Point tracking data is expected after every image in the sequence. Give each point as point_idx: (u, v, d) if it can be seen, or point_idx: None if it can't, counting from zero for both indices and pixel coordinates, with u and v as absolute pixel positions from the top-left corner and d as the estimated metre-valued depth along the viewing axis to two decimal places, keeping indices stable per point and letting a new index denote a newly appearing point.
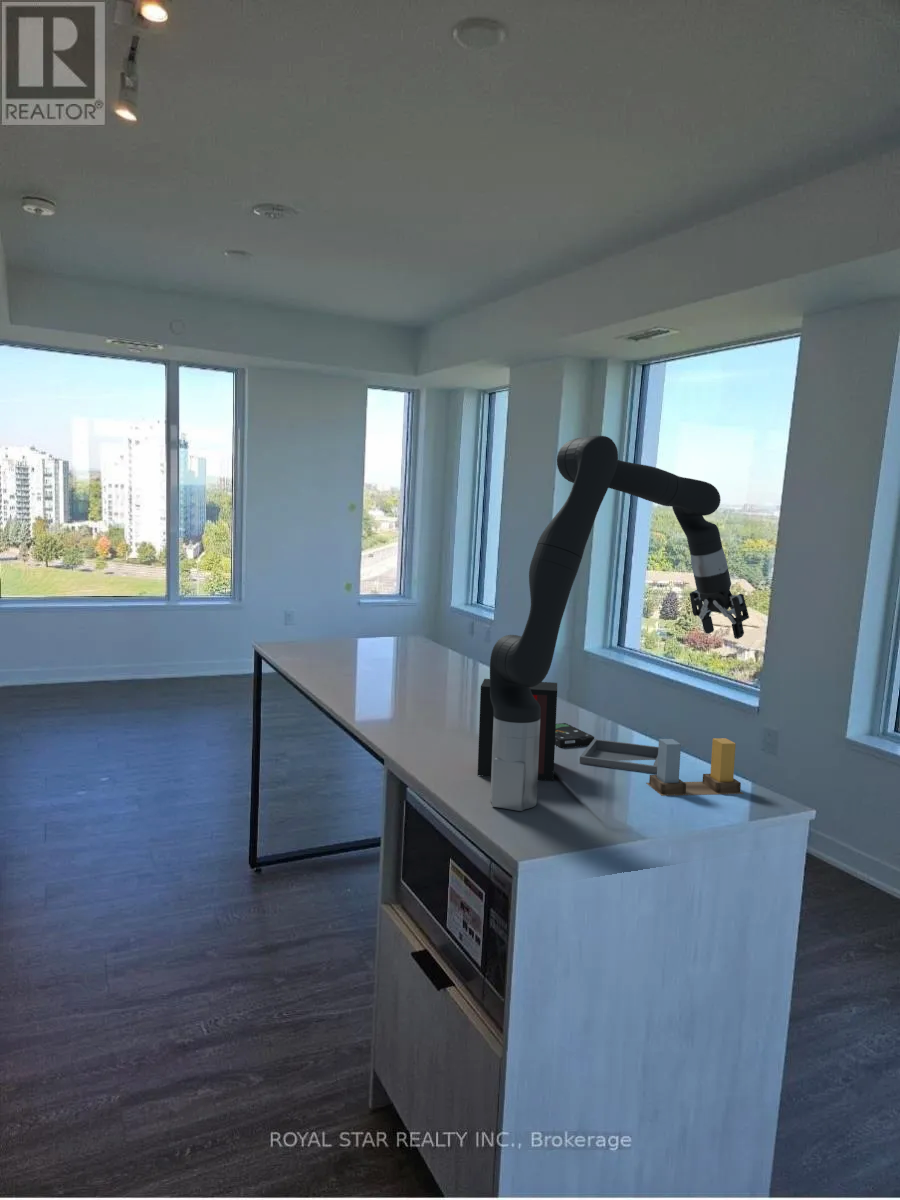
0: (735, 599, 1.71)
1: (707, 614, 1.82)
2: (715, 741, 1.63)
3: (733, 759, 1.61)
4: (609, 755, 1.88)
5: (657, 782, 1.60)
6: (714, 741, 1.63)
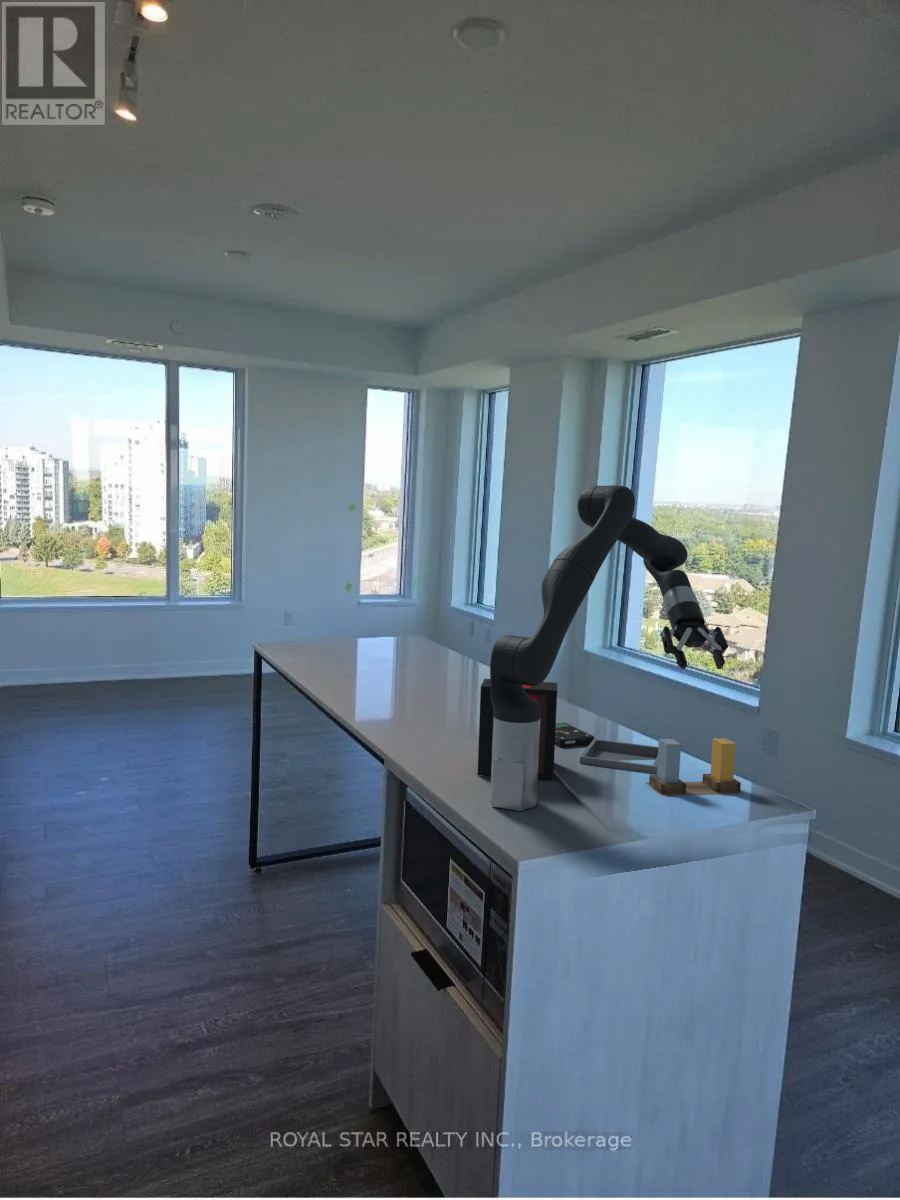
0: (719, 628, 1.79)
1: None
2: (715, 741, 1.63)
3: (733, 759, 1.61)
4: (609, 755, 1.88)
5: (657, 782, 1.60)
6: (714, 741, 1.63)
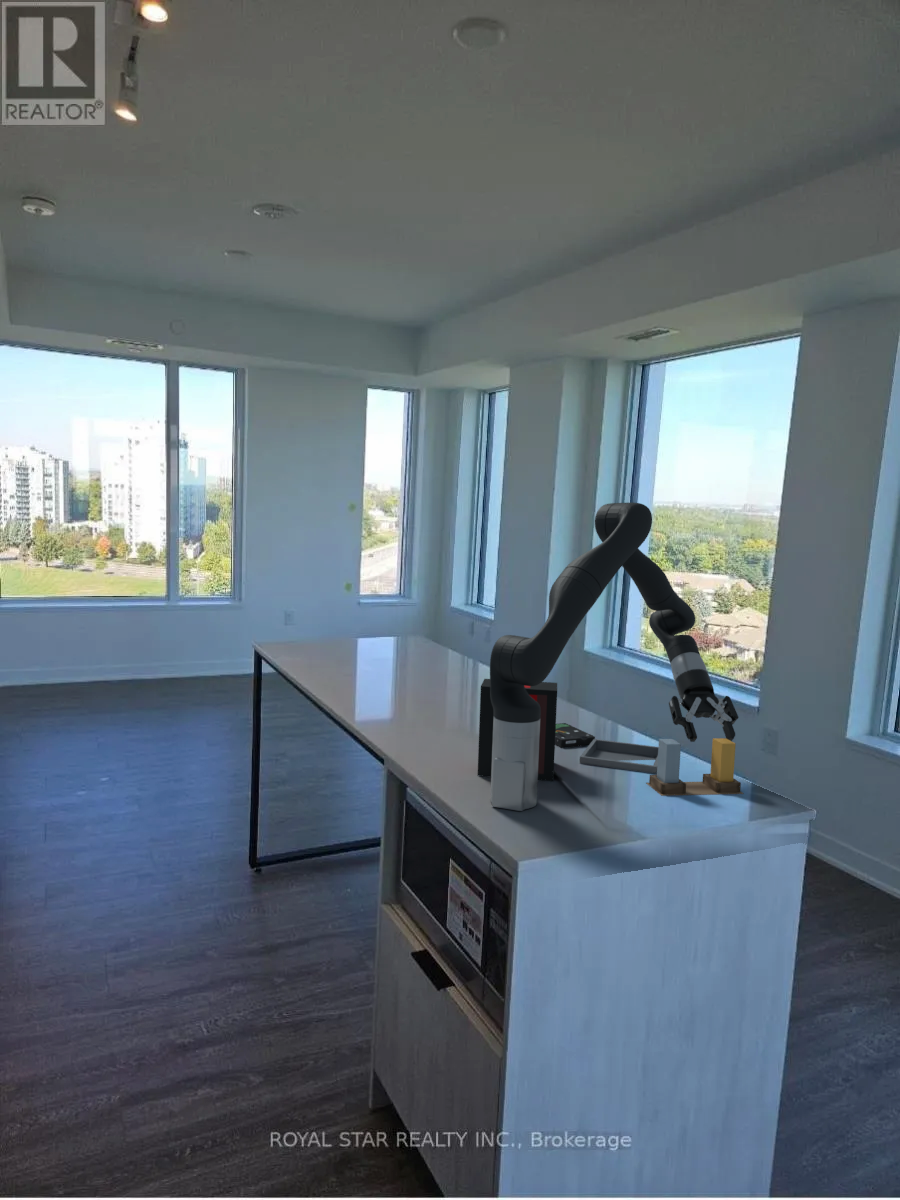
0: (728, 697, 1.74)
1: None
2: (715, 741, 1.63)
3: (733, 759, 1.61)
4: (609, 755, 1.88)
5: (657, 782, 1.60)
6: (714, 741, 1.63)
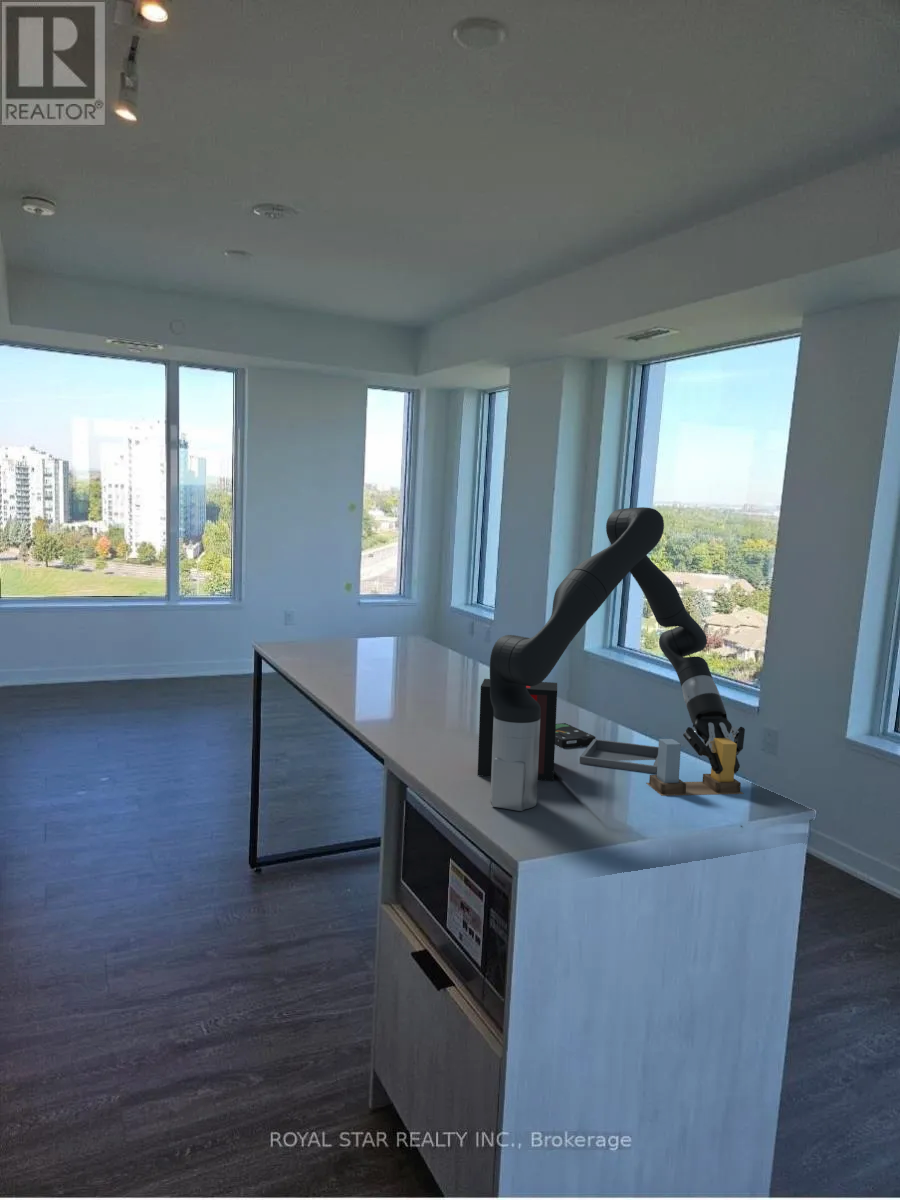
0: (743, 729, 1.67)
1: None
2: (716, 741, 1.63)
3: (734, 760, 1.61)
4: (609, 755, 1.88)
5: (657, 782, 1.60)
6: (716, 741, 1.63)
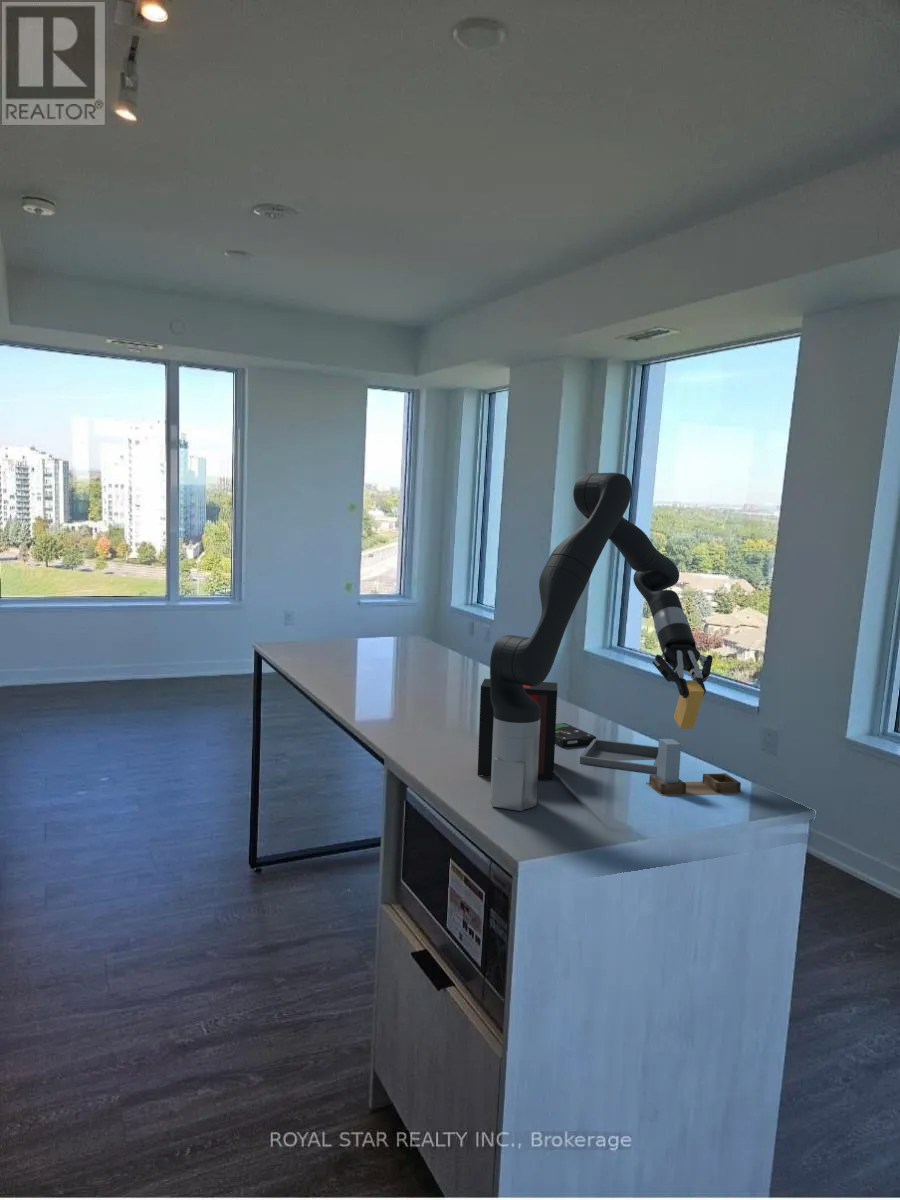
0: (711, 657, 1.72)
1: None
2: None
3: (699, 704, 1.66)
4: (609, 755, 1.88)
5: (657, 782, 1.60)
6: None
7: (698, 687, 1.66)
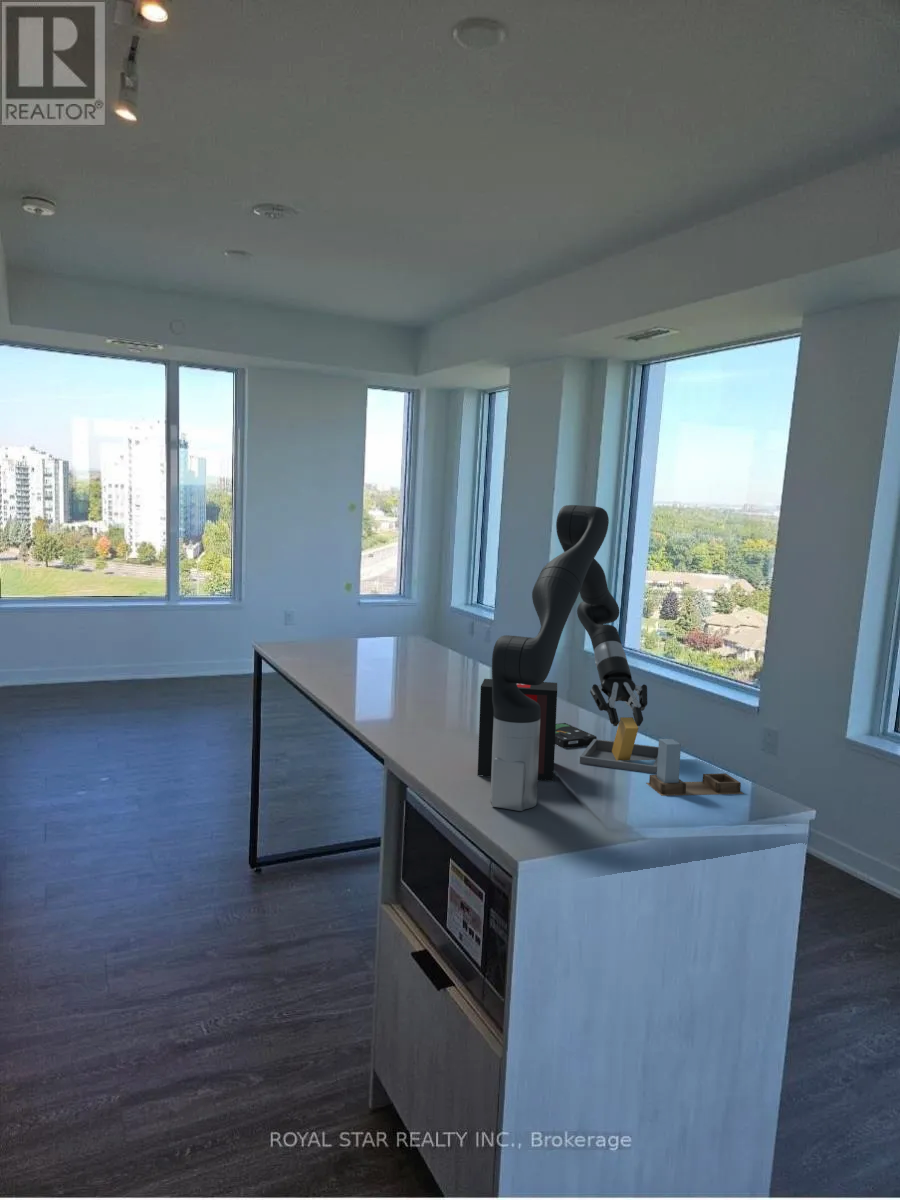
0: (646, 686, 1.86)
1: None
2: (621, 721, 1.80)
3: (634, 740, 1.79)
4: (609, 755, 1.88)
5: (657, 782, 1.60)
6: (621, 721, 1.80)
7: (633, 724, 1.79)
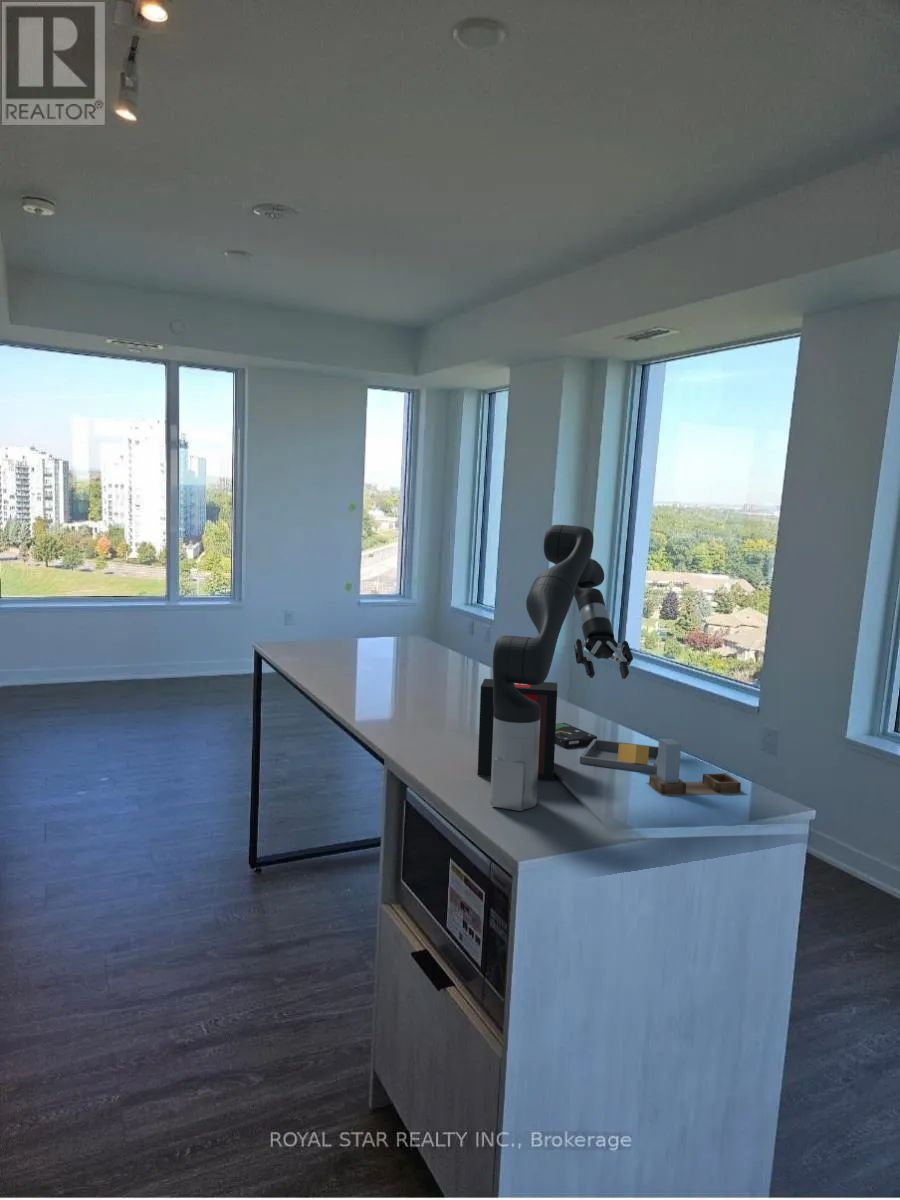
0: (626, 642, 1.99)
1: None
2: (635, 750, 1.73)
3: None
4: (609, 755, 1.88)
5: (657, 782, 1.60)
6: (635, 749, 1.73)
7: (644, 758, 1.73)
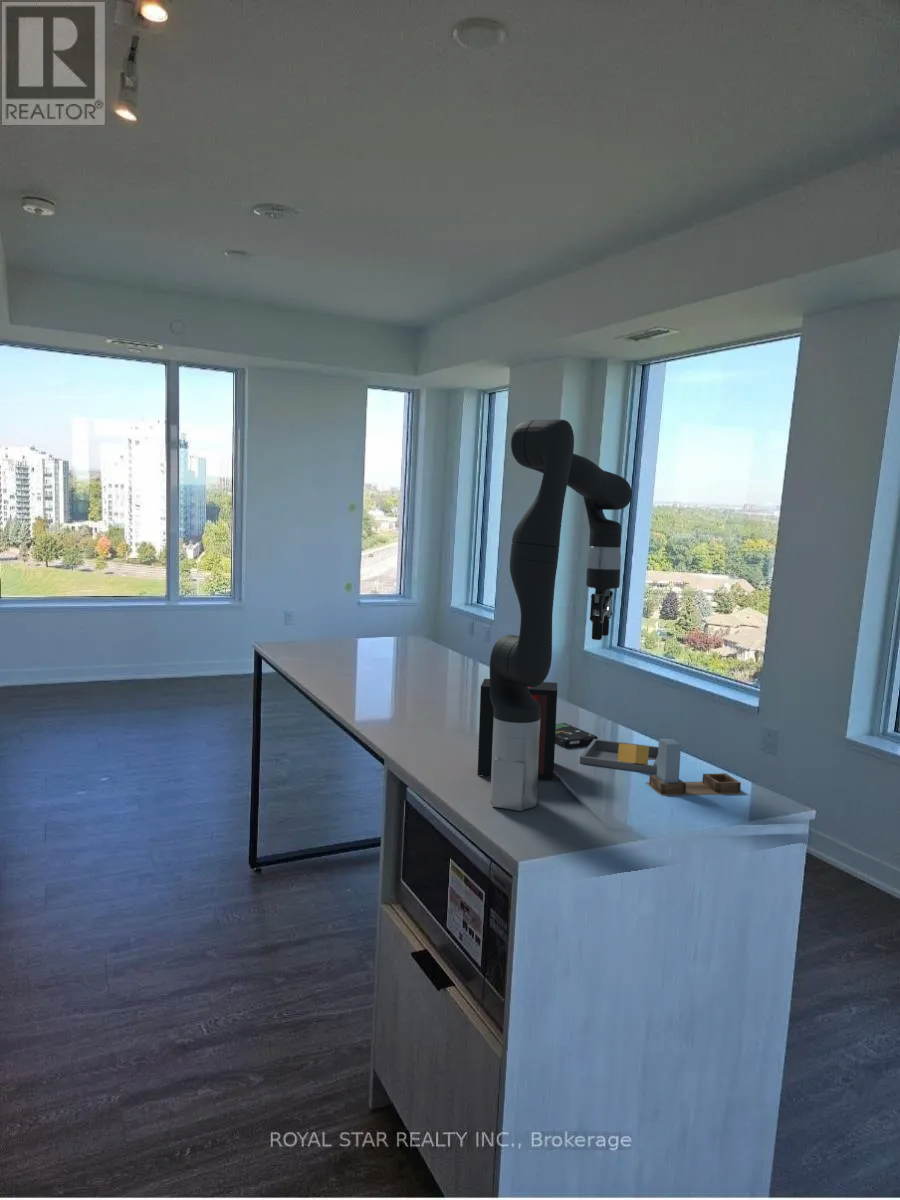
0: (612, 592, 1.83)
1: None
2: (635, 750, 1.73)
3: None
4: (609, 755, 1.88)
5: (657, 782, 1.60)
6: (635, 749, 1.73)
7: (644, 758, 1.73)
